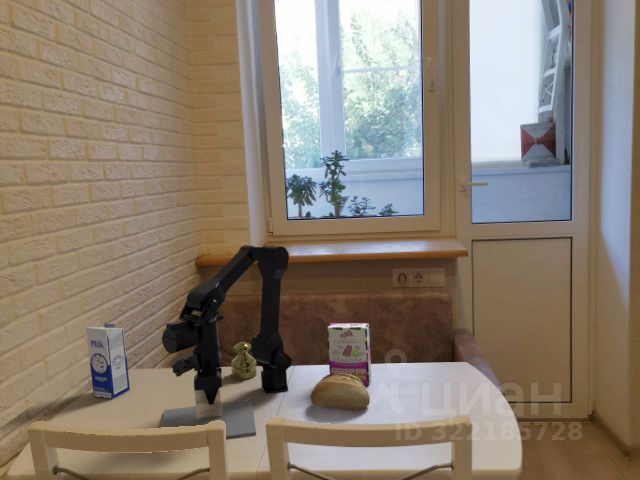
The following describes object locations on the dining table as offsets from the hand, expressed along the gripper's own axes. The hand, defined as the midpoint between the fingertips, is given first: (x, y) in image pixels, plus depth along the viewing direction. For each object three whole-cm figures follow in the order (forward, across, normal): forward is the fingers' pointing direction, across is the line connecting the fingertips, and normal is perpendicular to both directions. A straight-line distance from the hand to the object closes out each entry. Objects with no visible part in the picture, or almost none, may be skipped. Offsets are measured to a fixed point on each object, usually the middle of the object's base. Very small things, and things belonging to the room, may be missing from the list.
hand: (211, 402), depth 129 cm
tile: (+3, 0, -1) cm, 3 cm away
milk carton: (+4, -24, -28) cm, 37 cm away
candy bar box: (+4, -12, +38) cm, 40 cm away
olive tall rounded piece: (+4, -26, +9) cm, 28 cm away
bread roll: (+4, +2, +32) cm, 32 cm away
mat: (+4, +2, -1) cm, 5 cm away
